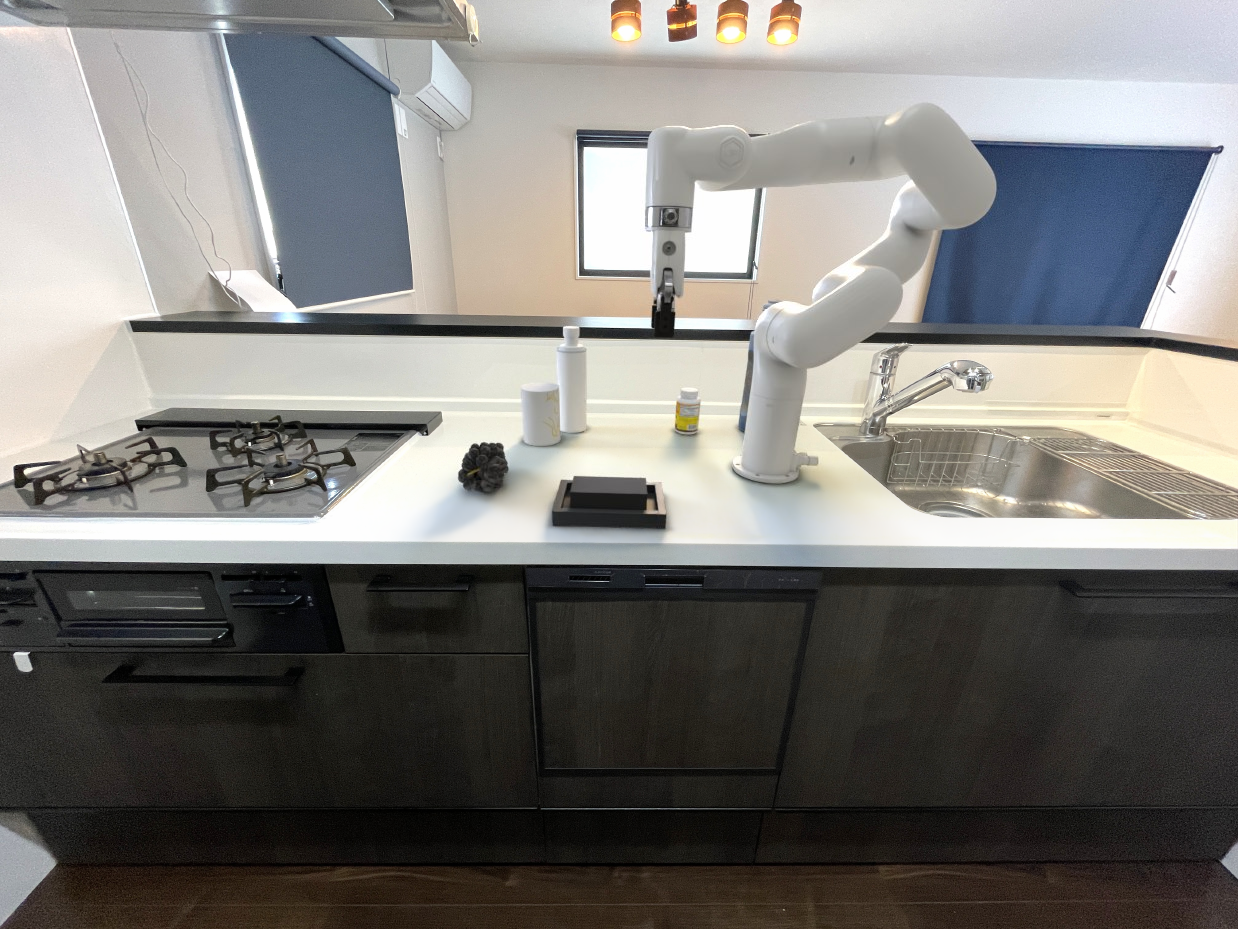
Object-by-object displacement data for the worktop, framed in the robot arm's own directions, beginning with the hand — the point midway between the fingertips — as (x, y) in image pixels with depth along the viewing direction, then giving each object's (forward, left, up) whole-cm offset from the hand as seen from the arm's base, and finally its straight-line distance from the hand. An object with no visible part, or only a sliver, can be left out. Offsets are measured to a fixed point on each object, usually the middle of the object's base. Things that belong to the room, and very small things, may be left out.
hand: (661, 332), depth 85 cm
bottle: (-27, -27, -26) cm, 46 cm away
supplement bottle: (-9, -24, -26) cm, 37 cm away
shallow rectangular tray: (+8, +16, -26) cm, 32 cm away
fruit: (+30, +6, -26) cm, 40 cm away
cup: (+24, -16, -26) cm, 39 cm away
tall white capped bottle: (+18, -24, -26) cm, 40 cm away
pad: (+8, +16, -25) cm, 31 cm away
